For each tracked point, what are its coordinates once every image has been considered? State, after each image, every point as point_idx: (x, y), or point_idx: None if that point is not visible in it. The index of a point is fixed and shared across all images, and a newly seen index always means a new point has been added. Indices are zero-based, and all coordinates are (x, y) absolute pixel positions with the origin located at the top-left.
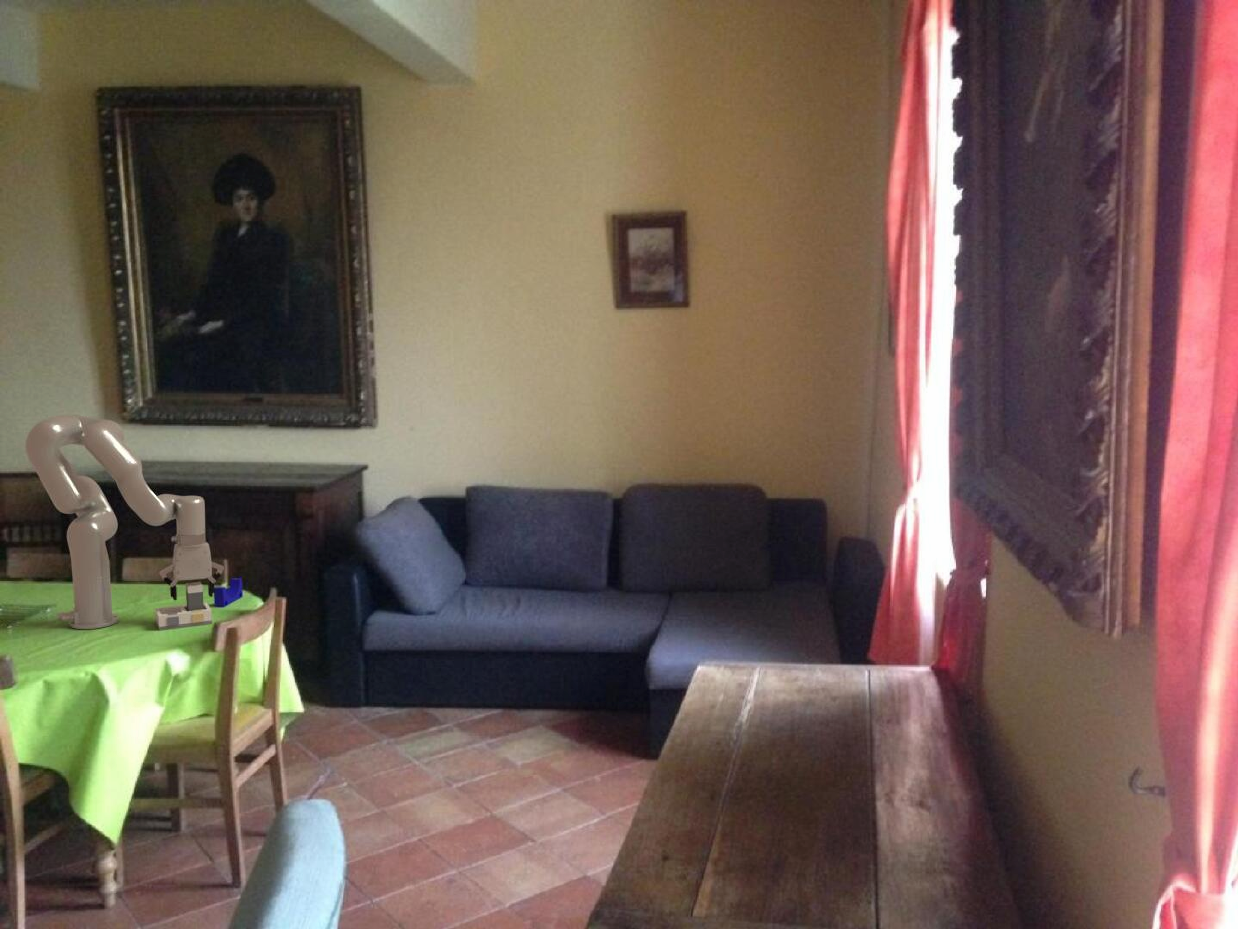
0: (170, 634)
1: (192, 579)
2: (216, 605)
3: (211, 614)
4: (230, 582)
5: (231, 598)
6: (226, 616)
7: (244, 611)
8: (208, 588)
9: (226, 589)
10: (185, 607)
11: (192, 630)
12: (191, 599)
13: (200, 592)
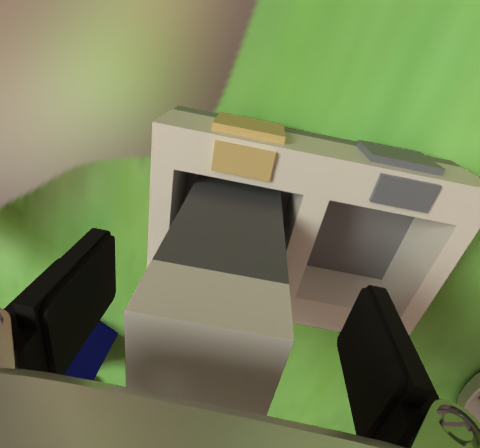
0: (459, 35)
1: (232, 410)
2: (108, 334)
3: (163, 115)
4: None
5: None
6: (89, 190)
7: (3, 215)
8: (90, 323)
9: None
10: None
11: (316, 36)
12: (261, 244)
13: (175, 261)
